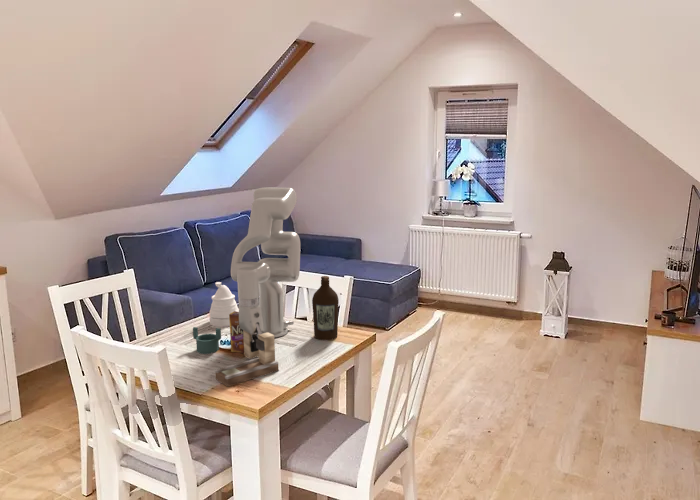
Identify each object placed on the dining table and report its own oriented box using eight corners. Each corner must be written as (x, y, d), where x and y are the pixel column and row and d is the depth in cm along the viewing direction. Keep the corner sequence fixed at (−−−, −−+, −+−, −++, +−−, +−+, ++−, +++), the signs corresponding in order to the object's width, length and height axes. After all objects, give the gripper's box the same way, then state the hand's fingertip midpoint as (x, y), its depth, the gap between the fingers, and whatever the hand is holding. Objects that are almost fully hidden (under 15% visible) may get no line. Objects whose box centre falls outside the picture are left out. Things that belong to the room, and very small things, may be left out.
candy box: (230, 352, 224) (228, 313, 221) (235, 348, 228) (234, 310, 225) (251, 355, 221) (249, 316, 218) (256, 351, 225) (255, 312, 222)
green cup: (223, 351, 225) (222, 328, 224) (199, 355, 221) (197, 332, 219) (215, 344, 233) (214, 322, 231) (192, 348, 228) (191, 326, 227)
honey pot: (212, 328, 252) (210, 287, 248) (207, 319, 263) (205, 280, 260) (242, 324, 257) (241, 284, 253) (236, 316, 268) (234, 277, 265)
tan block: (256, 352, 221) (255, 326, 218) (262, 355, 218) (261, 329, 215) (244, 355, 217) (243, 330, 215) (250, 359, 214) (248, 333, 212)
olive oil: (313, 332, 246) (312, 273, 241) (338, 331, 246) (338, 273, 241) (312, 341, 235) (311, 280, 230) (339, 340, 236) (338, 279, 231)
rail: (266, 364, 212) (265, 330, 210) (278, 370, 206) (277, 336, 204) (215, 378, 200) (213, 343, 197) (227, 386, 194) (225, 350, 191)
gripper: (270, 304, 209) (272, 353, 213) (246, 294, 221) (248, 340, 225) (252, 309, 204) (254, 358, 208) (228, 298, 216) (231, 345, 220)
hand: (251, 348), depth 217 cm, fingers closed on tan block, 4 cm apart
